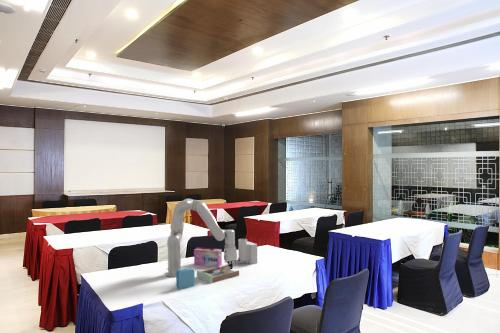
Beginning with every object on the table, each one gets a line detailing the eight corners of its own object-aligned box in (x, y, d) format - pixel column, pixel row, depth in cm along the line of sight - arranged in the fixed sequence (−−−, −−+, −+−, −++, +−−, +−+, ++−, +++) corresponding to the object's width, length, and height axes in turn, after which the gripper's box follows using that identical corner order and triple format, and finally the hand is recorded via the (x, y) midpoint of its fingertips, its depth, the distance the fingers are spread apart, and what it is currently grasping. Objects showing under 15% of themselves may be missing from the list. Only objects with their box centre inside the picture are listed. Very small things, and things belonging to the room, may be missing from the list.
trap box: (196, 277, 264) (196, 270, 264) (224, 270, 282) (224, 263, 282) (211, 283, 250) (211, 276, 250) (239, 275, 267) (239, 268, 267)
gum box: (192, 265, 297) (192, 249, 297) (196, 262, 305) (196, 247, 305) (218, 267, 290) (218, 250, 290) (222, 264, 298) (221, 248, 298)
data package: (191, 284, 249) (191, 267, 249) (194, 285, 245) (194, 268, 245) (176, 287, 241) (176, 270, 241) (179, 289, 238) (178, 272, 238)
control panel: (257, 262, 301) (257, 239, 301) (239, 266, 291) (239, 242, 291) (247, 258, 315) (246, 236, 315) (229, 262, 304) (229, 239, 304)
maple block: (220, 271, 270) (220, 266, 270) (226, 270, 274) (226, 265, 274) (224, 273, 266) (224, 268, 266) (230, 271, 270) (230, 266, 270)
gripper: (225, 248, 266) (225, 272, 266) (240, 244, 276) (240, 267, 276) (219, 246, 272) (219, 269, 272) (234, 243, 281) (234, 266, 281)
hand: (230, 268), depth 274 cm, fingers closed
